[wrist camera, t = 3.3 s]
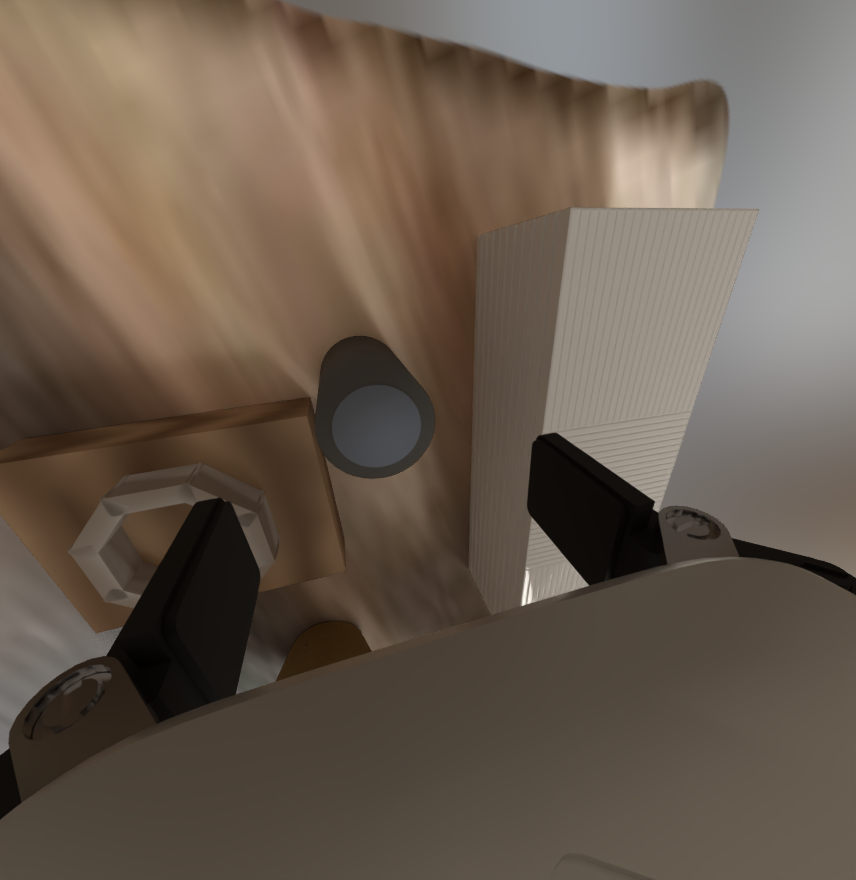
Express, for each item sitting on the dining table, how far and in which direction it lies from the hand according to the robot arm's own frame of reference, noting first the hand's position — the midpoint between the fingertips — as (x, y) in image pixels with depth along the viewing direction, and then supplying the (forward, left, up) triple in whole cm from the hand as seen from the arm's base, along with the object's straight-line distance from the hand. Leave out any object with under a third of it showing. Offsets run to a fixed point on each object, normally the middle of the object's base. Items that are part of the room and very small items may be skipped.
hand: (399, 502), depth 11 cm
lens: (0, 0, -17) cm, 17 cm away
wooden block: (+13, +8, -17) cm, 23 cm away
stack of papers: (-14, +8, -18) cm, 24 cm away
